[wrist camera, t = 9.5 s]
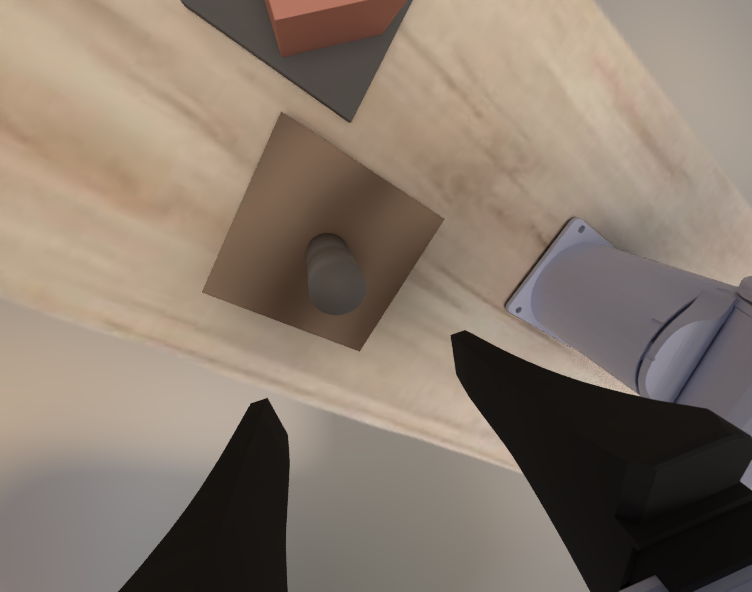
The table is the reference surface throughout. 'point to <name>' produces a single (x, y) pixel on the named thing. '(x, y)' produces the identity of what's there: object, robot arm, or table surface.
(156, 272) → the table surface
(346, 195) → the post block
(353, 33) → the terracotta cube
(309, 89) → the mat
